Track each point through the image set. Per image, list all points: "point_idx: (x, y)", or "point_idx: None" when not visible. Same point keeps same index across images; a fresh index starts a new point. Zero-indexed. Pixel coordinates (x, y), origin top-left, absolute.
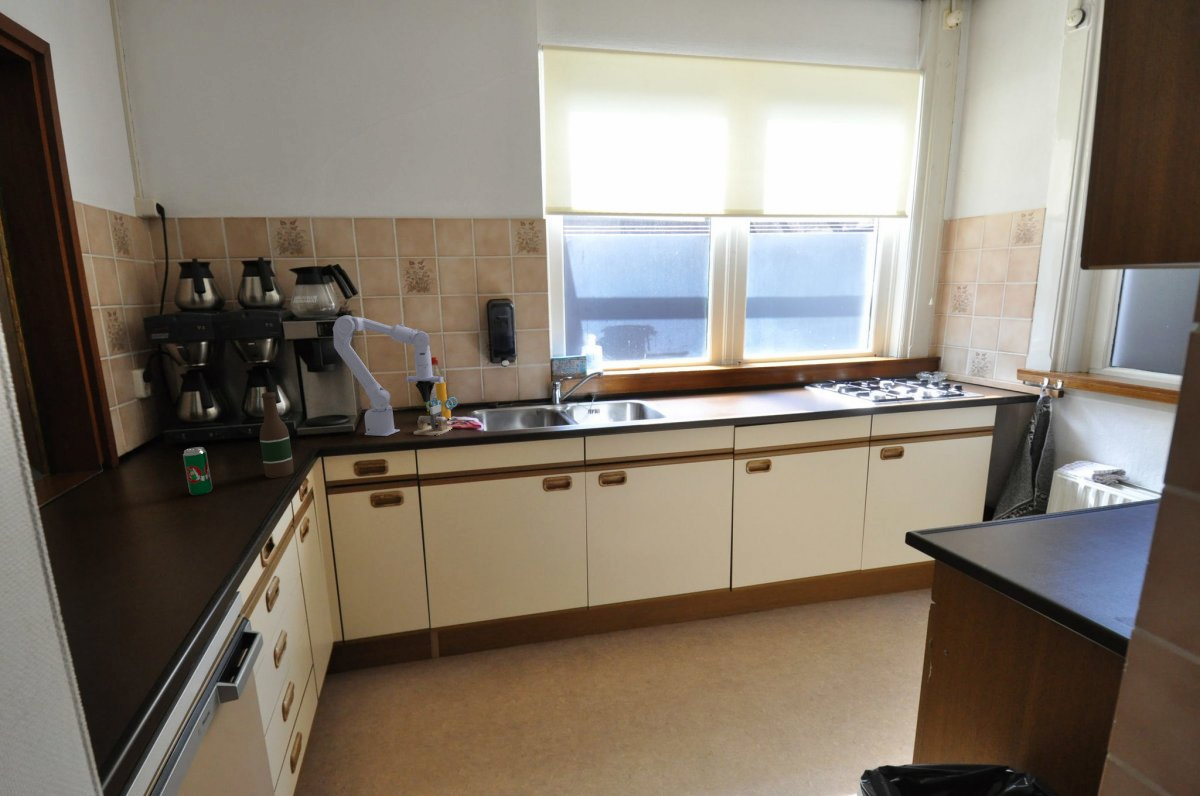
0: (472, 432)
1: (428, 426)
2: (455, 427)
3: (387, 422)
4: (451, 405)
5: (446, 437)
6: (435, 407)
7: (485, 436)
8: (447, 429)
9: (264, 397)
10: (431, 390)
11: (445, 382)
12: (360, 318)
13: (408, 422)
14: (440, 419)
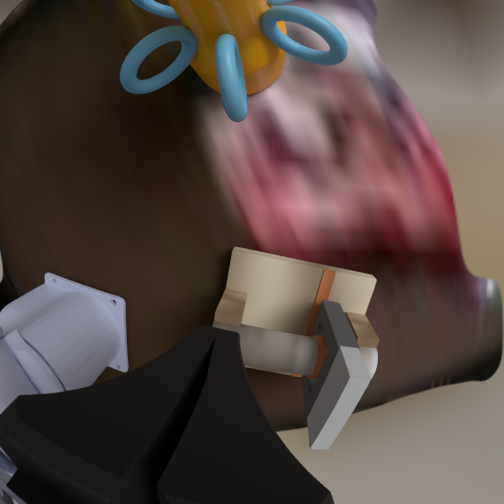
0: (455, 318)
1: (242, 272)
2: (378, 233)
3: (97, 377)
4: (334, 60)
5: (372, 387)
6: (340, 424)
7: (482, 357)
8: (362, 314)
9: None
10: (259, 420)
11: None
12: None
13: (84, 134)
14: None
